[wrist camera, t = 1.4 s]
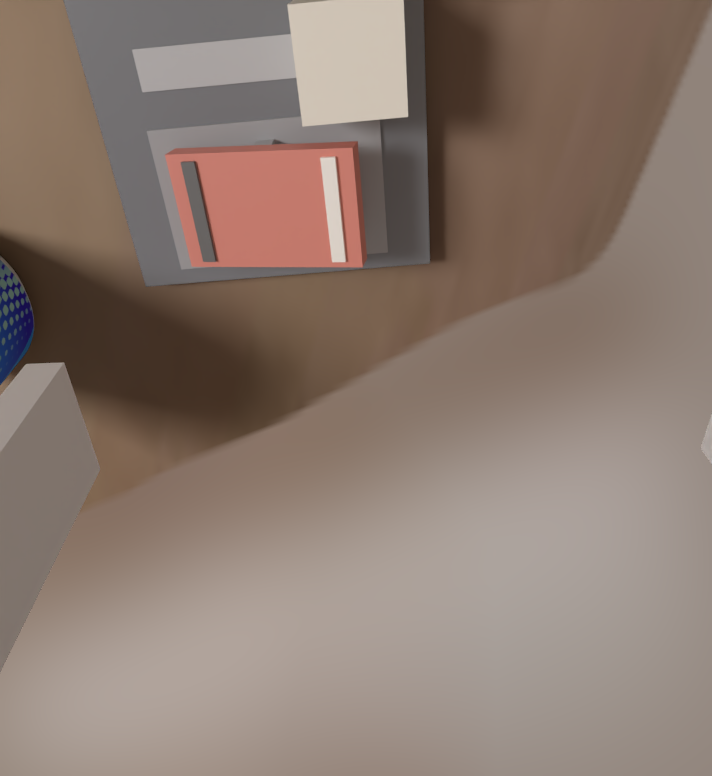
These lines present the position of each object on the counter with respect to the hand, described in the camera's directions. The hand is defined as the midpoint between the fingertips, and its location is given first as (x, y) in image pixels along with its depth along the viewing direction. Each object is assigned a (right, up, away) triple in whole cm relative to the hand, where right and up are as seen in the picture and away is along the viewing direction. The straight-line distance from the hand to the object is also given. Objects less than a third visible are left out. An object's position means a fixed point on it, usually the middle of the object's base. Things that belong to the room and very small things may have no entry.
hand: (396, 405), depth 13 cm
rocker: (-5, +8, +15) cm, 17 cm away
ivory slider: (-1, +14, +13) cm, 19 cm away
